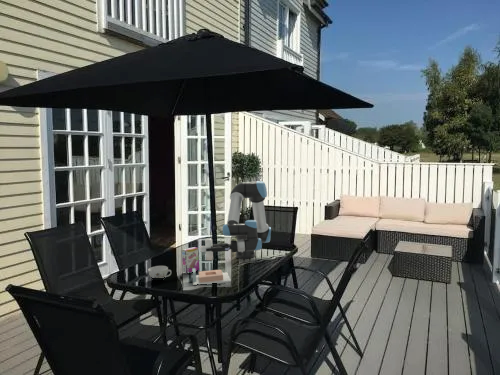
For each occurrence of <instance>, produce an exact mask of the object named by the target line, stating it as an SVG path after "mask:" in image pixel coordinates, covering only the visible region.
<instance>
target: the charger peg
mask: <svg viewBox="0 0 500 375" xmlns="http://www.w3.org/2000/svg"><path fill="white" fill-rule="evenodd" d="M204 244H205V245H204V246H205V247H211V246H212V244H213V238H211V237H210V238H205V239H204ZM212 247H213V246H212ZM205 260H206V261H213V260H214V252H212V251H210V252H205Z"/></svg>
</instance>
